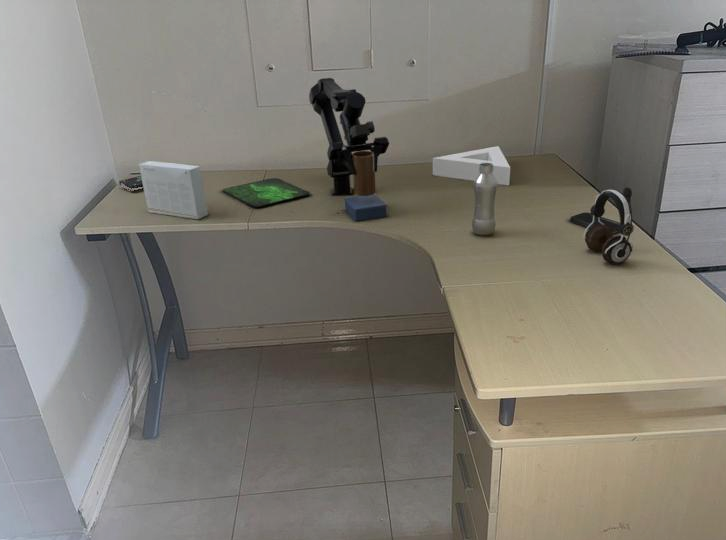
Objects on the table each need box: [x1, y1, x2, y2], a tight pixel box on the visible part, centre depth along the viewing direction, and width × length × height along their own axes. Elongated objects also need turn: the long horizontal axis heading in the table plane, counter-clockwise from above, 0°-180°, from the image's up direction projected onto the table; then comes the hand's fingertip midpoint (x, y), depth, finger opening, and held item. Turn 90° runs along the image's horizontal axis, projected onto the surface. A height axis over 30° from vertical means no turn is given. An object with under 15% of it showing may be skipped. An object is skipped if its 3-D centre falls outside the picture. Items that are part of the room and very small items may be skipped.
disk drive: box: [118, 175, 144, 193], centre depth 235 cm, size 10×3×15 cm
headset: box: [583, 186, 635, 265], centre depth 163 cm, size 17×8×20 cm, turn 13°
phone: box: [569, 211, 620, 235], centre depth 188 cm, size 8×1×15 cm
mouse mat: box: [221, 177, 311, 208], centre depth 224 cm, size 27×22×1 cm
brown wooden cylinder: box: [352, 150, 377, 196], centre depth 196 cm, size 7×7×12 cm
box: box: [343, 193, 388, 222], centre depth 202 cm, size 11×10×4 cm
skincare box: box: [138, 160, 209, 220], centre depth 204 cm, size 21×6×16 cm, turn 65°
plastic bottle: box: [471, 163, 498, 236], centre depth 180 cm, size 6×7×20 cm
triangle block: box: [432, 145, 511, 186], centre depth 235 cm, size 30×26×6 cm
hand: (365, 172), depth 195 cm, fingers closed on brown wooden cylinder, 6 cm apart
